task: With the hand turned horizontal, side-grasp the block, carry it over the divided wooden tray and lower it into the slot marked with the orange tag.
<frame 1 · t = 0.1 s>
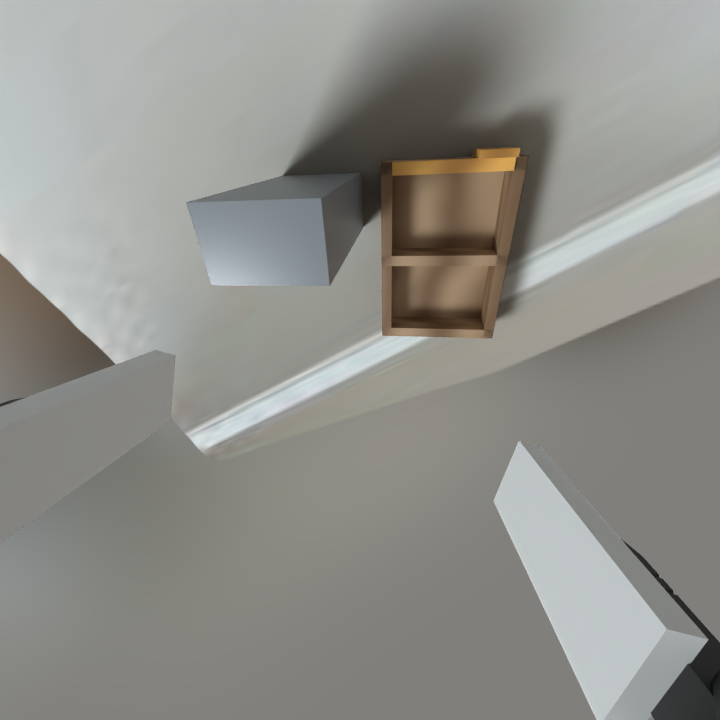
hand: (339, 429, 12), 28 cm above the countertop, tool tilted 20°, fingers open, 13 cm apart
divided wooden tray: (440, 251, 35), on the countertop
block: (323, 202, 34), on the countertop
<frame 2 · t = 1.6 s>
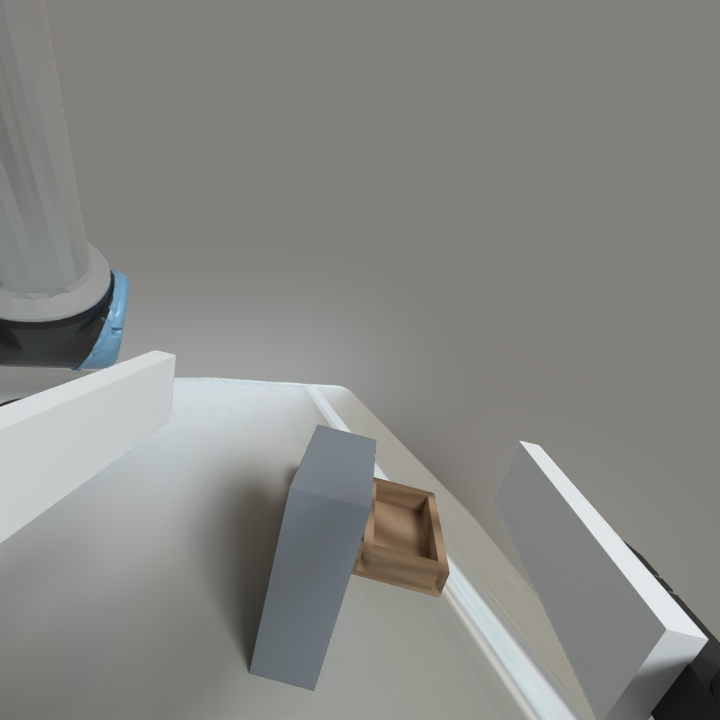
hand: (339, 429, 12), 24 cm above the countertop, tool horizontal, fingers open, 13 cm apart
divided wooden tray: (363, 530, 40), on the countertop
block: (296, 625, 28), on the countertop
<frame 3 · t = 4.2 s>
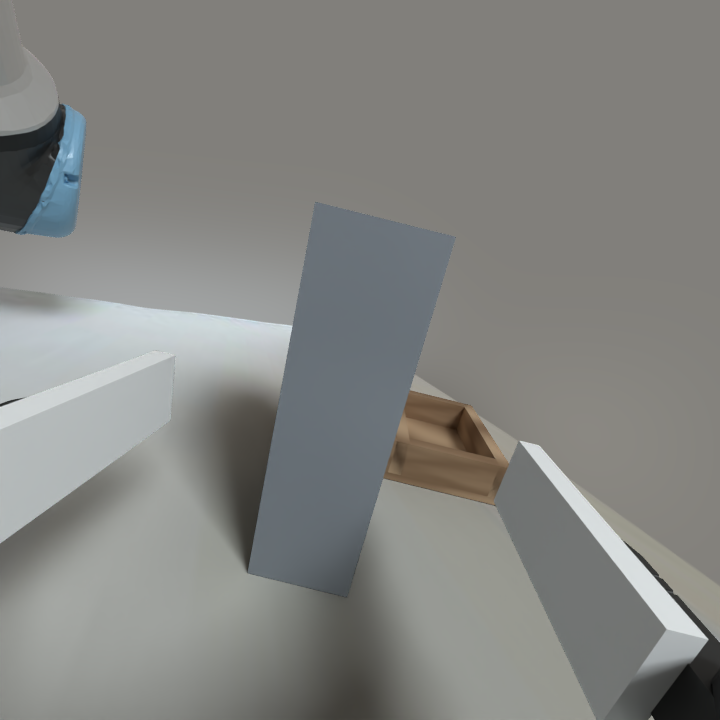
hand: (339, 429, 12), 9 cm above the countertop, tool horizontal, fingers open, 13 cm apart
divided wooden tray: (390, 441, 32), on the countertop
block: (313, 523, 20), on the countertop
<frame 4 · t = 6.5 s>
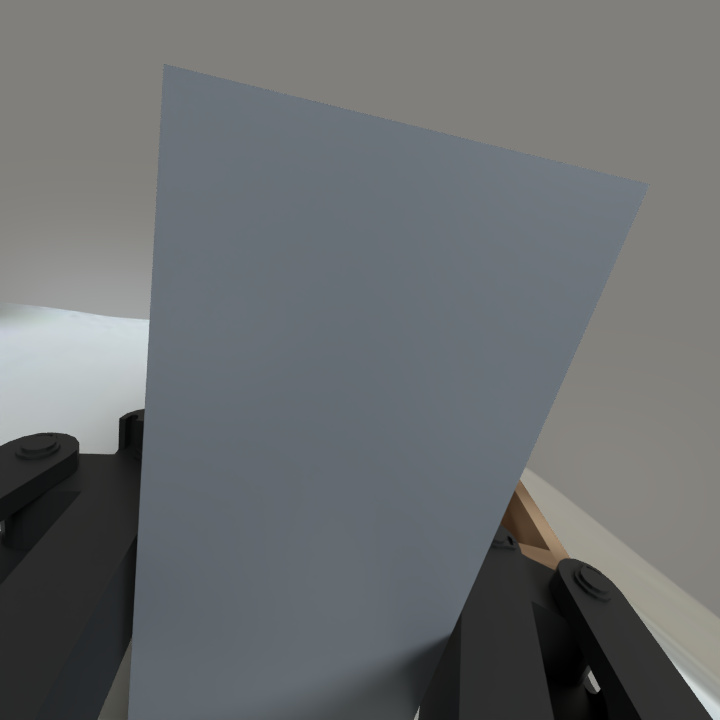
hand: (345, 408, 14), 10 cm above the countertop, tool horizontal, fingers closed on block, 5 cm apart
divided wooden tray: (396, 504, 24), on the countertop
block: (271, 704, 12), on the countertop, touching gripper
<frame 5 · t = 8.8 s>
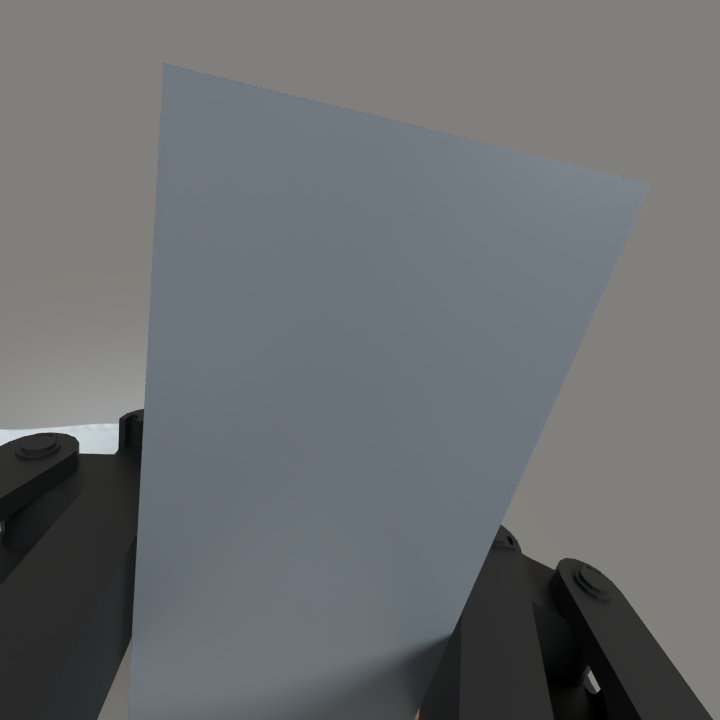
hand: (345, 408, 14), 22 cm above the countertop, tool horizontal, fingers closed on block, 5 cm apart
block: (271, 704, 12), point 12 cm above the countertop, touching gripper
when the fingers open (12 cm above the countertop, at t = 11.0 s): block drops 1 cm, resting on divided wooden tray.
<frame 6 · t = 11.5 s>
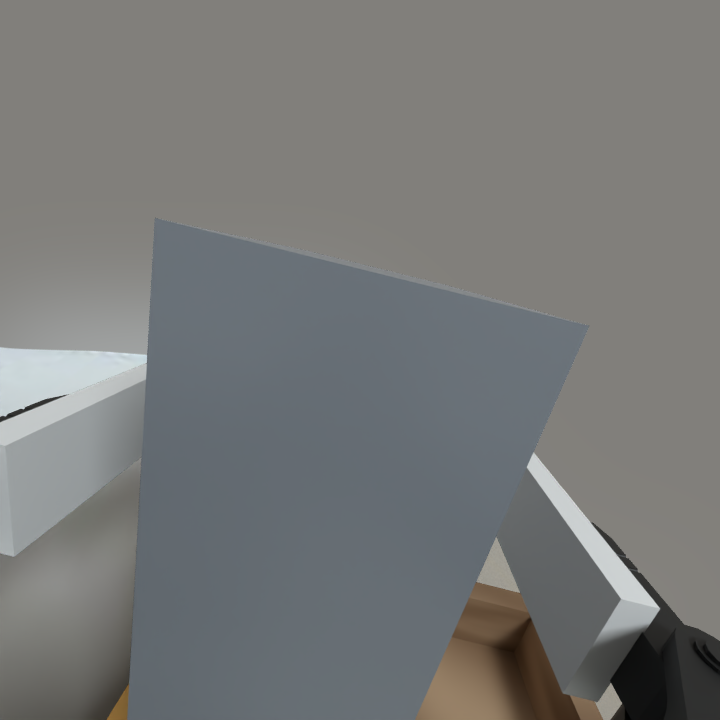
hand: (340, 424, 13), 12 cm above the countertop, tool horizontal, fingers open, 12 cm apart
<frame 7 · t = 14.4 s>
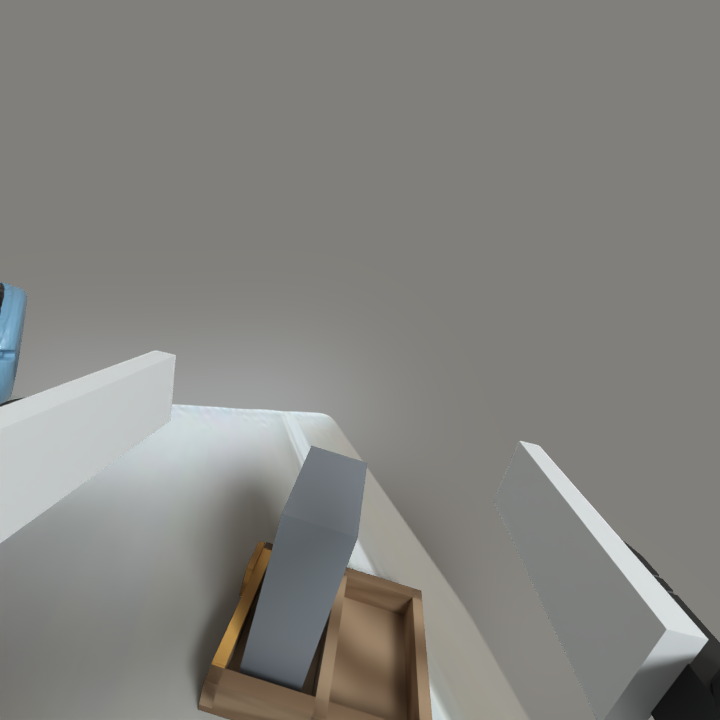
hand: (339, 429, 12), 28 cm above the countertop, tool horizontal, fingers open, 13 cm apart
divided wooden tray: (324, 651, 30), on the countertop
block: (283, 634, 30), point 1 cm above the countertop, touching divided wooden tray
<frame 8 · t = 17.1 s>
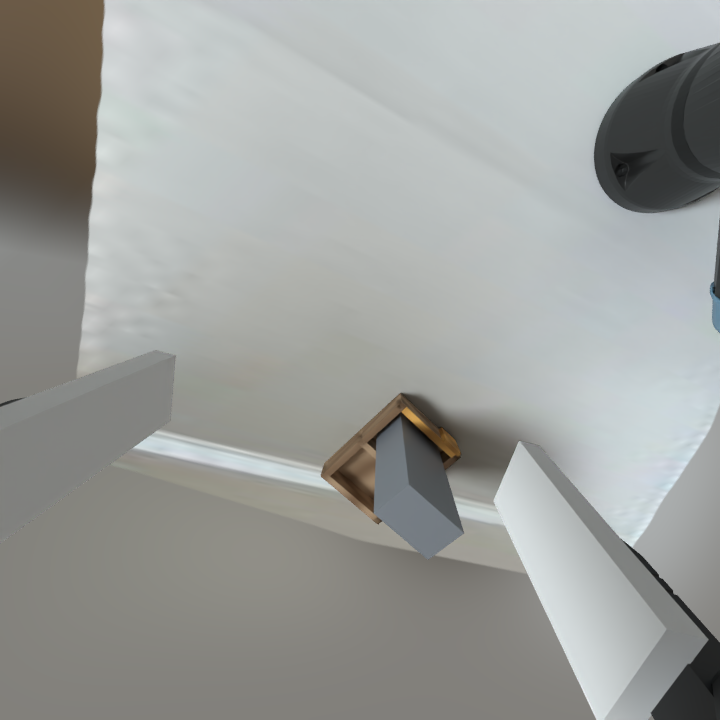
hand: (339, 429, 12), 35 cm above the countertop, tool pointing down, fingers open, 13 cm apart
divided wooden tray: (388, 454, 52), on the countertop
block: (407, 439, 50), point 1 cm above the countertop, touching divided wooden tray
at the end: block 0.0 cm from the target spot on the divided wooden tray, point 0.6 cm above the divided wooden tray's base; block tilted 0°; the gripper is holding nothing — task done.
